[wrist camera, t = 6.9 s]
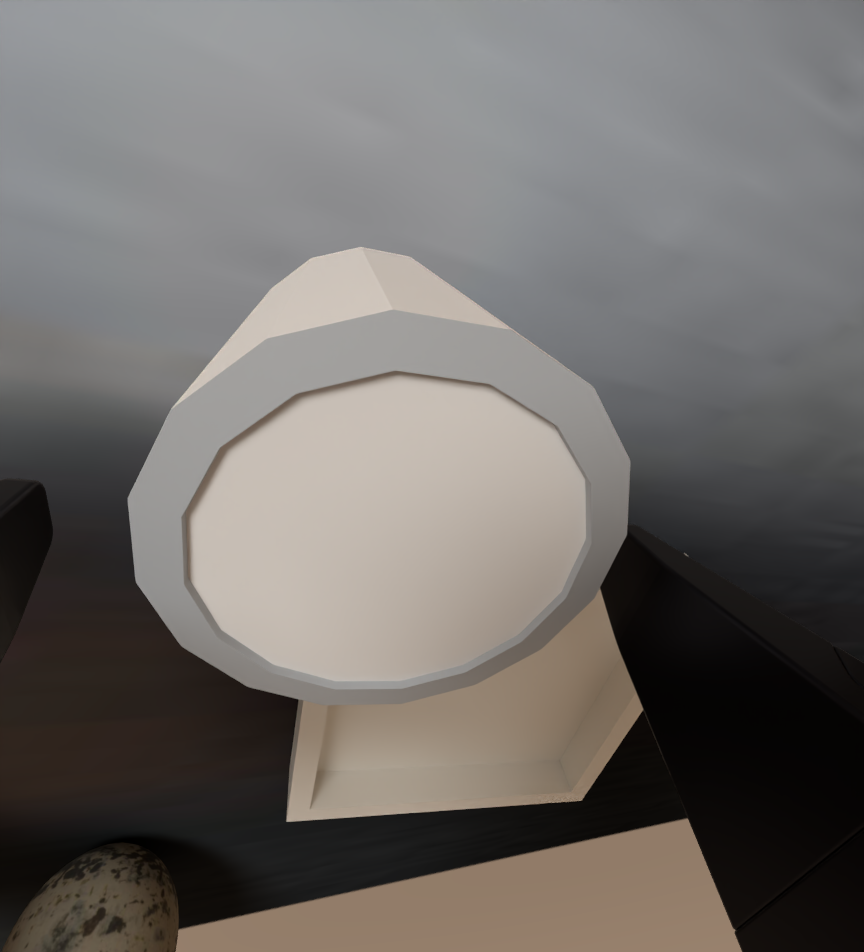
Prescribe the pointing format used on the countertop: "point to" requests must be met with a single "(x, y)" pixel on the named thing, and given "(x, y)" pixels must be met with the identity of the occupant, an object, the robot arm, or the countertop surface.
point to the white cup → (376, 491)
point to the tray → (473, 736)
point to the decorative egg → (102, 906)
